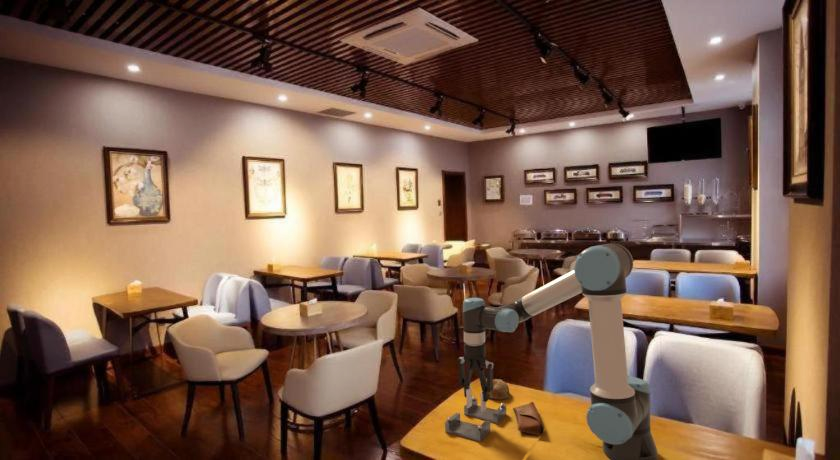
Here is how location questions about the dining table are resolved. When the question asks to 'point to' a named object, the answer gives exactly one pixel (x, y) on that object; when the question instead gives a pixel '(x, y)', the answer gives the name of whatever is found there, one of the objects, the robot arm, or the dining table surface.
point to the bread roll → (499, 390)
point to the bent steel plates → (472, 430)
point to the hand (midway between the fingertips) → (476, 408)
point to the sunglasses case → (528, 419)
